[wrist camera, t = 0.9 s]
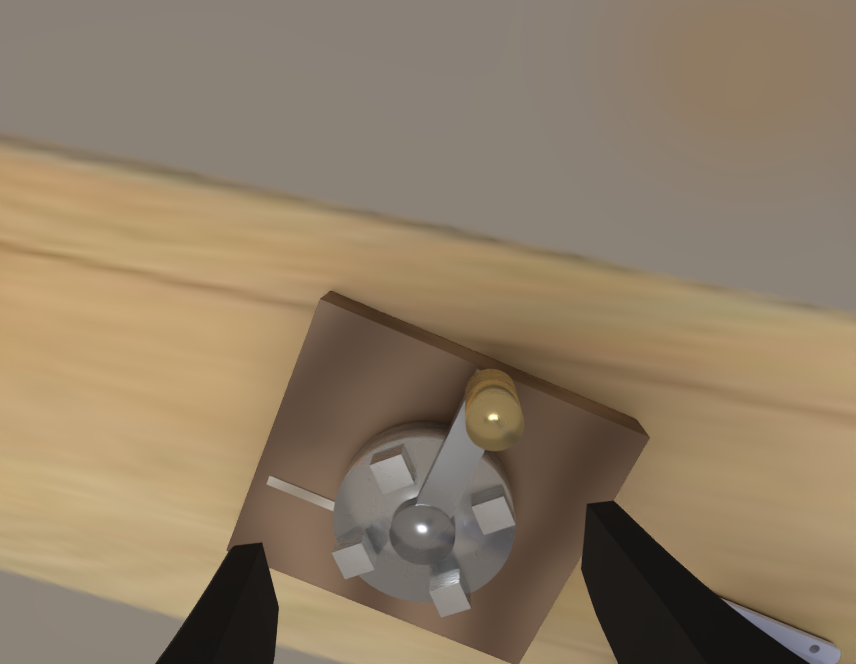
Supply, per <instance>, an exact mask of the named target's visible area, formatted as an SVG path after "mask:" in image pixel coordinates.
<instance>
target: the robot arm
mask: <svg viewBox="0 0 856 664" xmlns="http://www.w3.org/2000/svg"><path fill="white" fill-rule="evenodd" d="M581 570H582V573H583V576H584V580H585V583H586V586H587V589H588V592H589V595H590V598H591V601H592V604H593V607H594V610H595V613H596V615H597V618H598V620H599V622H600V624H601V627H602V629H603V631H604V633H605V636H606V638H607V640H608V642H609V644H610V647H611V649H612V651H613V653H614V655H615V658H616V660H617V662H618V664H836V663H837V662H838V660H839V659H840V657H841V652H840V650H839V649H838V648H837V647H836V645H834V644H833V643H830V642H828V641H825V640H823V639H820V638H818V637H815V636H813V635H811V634H808V633H806V632H803V631H801V630H798V629H796V628H793V627H791V626H789V625H786V624H784V623H781V622H779V621H776V620H774V619H771V618H769V617H766V616H764V615H762V614H759V613H757V612H754V611H752V610H749V609H747V608H744V607H742V606H740V605H737V604H735V603H732V602H730V601H727V600H725V599H722V598H720V597H719V596H717V595H716V594H715V593H714V592H713V591H711V590H710V589H709V588H708V587H707V586H705V585H704V584H703V583H702V582H701V581H700V580H698V579H697V578H696V577H695V576H694V575H693V574H692V573H691V572H689V571H688V570H687V569H686V568H685V567H684V566H683V565H681V564H680V563H679V562H678V561H677V560H676V559H675V558H674V557H672V556H671V555H670V554H669V553H668V552H667V551H666V550H665V549H664V548H663V547H662V546H661V545H660V544H658V543H657V542H656V541H655V540H654V539H653V538H652V537H651V536H650V535H649V534H648V533H647V532H646V531H645V530H644V529H643V528H642V527H641V526H640V525H639V524H637V523H636V522H635V521H634V520H633V519H632V518H631V517H630V516H629V515H628V514H627V513H626V512H625V511H624V510H623V509H622V508H621V507H620V506H619V505H618V504H617V503H616V502H614V501H605V502H596V503H588V504H587V507H586V518H585V530H584V541H583V553H582V565H581ZM278 611H279V606H278V602H277V598H276V594H275V590H274V587H273V583H272V579H271V575H270V571H269V567H268V563H267V559H266V555H265V551H264V547H263V543H262V542H260V543H251V544H243V545H235V546H233V547H232V548H231V549H230V550H229V552H228V554H227V555H226V557H225V559H224V560H223V562H222V564H221V565H220V567H219V569H218V570H217V572H216V574H215V575H214V577H213V578H212V580H211V582H210V583H209V585H208V587H207V588H206V590H205V591H204V593H203V594H202V596H201V598H200V599H199V601H198V602H197V604H196V605H195V607H194V608H193V610H192V611H191V613H190V614H189V616H188V617H187V619H186V620H185V622H184V623H183V625H182V627H181V628H180V630H179V631H178V632H177V634H176V635H175V637H174V638H173V640H172V641H171V643H170V644H169V645H168V647H167V648H166V650H165V651H164V652H163V654H162V655H161V656H160V658H159V659H158V661H157V662H156V663H155V664H273V662H274V657H275V646H276V636H277V624H278ZM812 645H814V646H813V647H811V646H812Z"/></svg>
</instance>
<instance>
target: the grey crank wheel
mask: <svg viewBox="0 0 856 664" xmlns="http://www.w3.org/2000/svg"><path fill="white" fill-rule="evenodd" d="M523 430H524V418H523V414H522V410H521V406H520V402H519V399H518V395H517V391H516V387H515V384H514V382H513V380H512V379H511V378H510V377H509V376H508V375H507V374H506V373H504V372H502V371H500V370H496V369H485V370H482V371H481V370H479V369H476V371H475V373H474V375H473V376H472V377H471V378H470V380H469V381H468V383H467V385H466V389H465V395H464V397H463V399H462V401H461V403H460V405H459V407H458V409H457V412H456V414H455V416H454V418H453V420H452V422H451V424H450V425H447V424H442V423H436V422H412V423H406V424H402V425H398V426H395V427H392V428H389V429H387V430H385V431H383V432H381V433H379V434H378V435H376V436H374V437H373V438H372V439H370V440H369V441H368V442H367V443H365V444H364V445H363V447H362V448H361V449H360V450H359V451H358V452H357V453H356V455H355V456H354V458H353V459H352V461H351V463H350V465H349V467H348V469H347V471H346V474H345V476H344V479H343V481H342V483H341V486H340V488H339V491H338V494H337V497H336V500H335V504H334V510H333V527H334V534H335V537H336V542H335V545H334V547H333V550H332V555H333V557H334V559H335V561H336V563H337V565H338V567H339V569H340V571H341V573H342V575H343V577H344V578H345V579H348V578H351V577H354V576H357V575H359V576H360V577H361V578H362V579H363V580H364V581H365V582H367V583H368V584H369V585H371V586H372V587H374V588H376V589H377V590H379V591H381V592H383V593H385V594H387V595H390V596H393V597H396V598H399V599H402V600H407V601H411V602H421V603H434V604H435V606H436V608H437V610H438V612H439V614H440V616H441V617H445V616H448V615H451V614H455V613H458V612H461V611H465V610H468V609H471V593H472V592H474V591H476V590H478V589H479V588H481V587H482V586H484V585H485V584H487V583H488V582H489V581H490V580H491V579H492V578H493V577H494V576H495V575H496V574H497V573H498V572H499V571H500V569H501V568H502V567H503V565H504V563H505V562H506V560H507V559H508V556H509V554H510V552H511V550H512V546H513V543H514V539H515V531H516V520H515V512H514V506H513V500H512V493H511V488H510V483H509V480H508V477H507V474H506V472H505V470H504V468H503V466H502V464H501V462H500V461H499V459H498V458H497V456H496V455H495V454H494V453H493V452H492V451H502V450H505V449H508V448H510V447H511V446H513V445H514V444H515V443H516V442H517V441H518V440H519V439H520V437H521V436H522V433H523Z"/></svg>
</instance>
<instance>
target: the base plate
mask: <svg viewBox="0 0 856 664" xmlns="http://www.w3.org/2000/svg"><path fill="white" fill-rule="evenodd" d="M476 369H479V370H481V371H482V370H485V369H496V370H500V371H502V372H504V373H506V374H507V375H508V376H509V377H510V378H511V379H512V380H513V382H514V384H515V387H516V391H517V395H518V399H519V402H520V406H521V410H522V414H523V418H524V430H523V433H522V436H521V437H520V439H519V440H518V441H517V442H516V443H515V444H514V445H513V446H511V447H510V448H508V449H505V450H502V451H492V452H493V453H494V454H495V455H496V456H497V458H498V459H499V461H500V462H501V464H502V466H503V468H504V470H505V472H506V474H507V477H508V480H509V483H510V488H511V493H512V500H513V506H514V512H515V520H516V531H515V539H514V543H513V546H512V550H511V552H510V554H509V556H508V559H507V560H506V562H505V563H504V565H503V567H502V568H501V569H500V571H499V572H498V573H497V574H496V575H495V576H494V577H493V578H492V579H491V580H490V581H489V582H488V583H487V584H485V585H484V586H482V587H481V588H479V589H478V590H476V591H474V592H472V593H471V609H468V610H465V611H461V612H458V613H455V614H451V615H448V616H445V617H441V616H440V614H439V612H438V610H437V608H436V606H435V604H434V603H421V602H411V601H407V600H402V599H399V598H396V597H393V596H390V595H387V594H385V593H383V592H381V591H379V590H377V589H376V588H374V587H372V586H371V585H369V584H368V583H367V582H365V581H364V580H363V579H362V578H361V577H360V576H359V575H357V576H354V577H351V578H348V579H345V578H344V577H343V575H342V573H341V571H340V569H339V567H338V565H337V563H336V561H335V559H334V557H333V555H332V550H333V547H334V545H335V542H336V537H335V534H334V527H333V510H334V504H335V500H336V497H337V494H338V491H339V488H340V486H341V483H342V481H343V479H344V476H345V474H346V471H347V469H348V467H349V465H350V463H351V461H352V459H353V458H354V456H355V455H356V453H357V452H358V451H359V450H360V449H361V448H362V447H363V445H364V444H365V443H367V442H368V441H369V440H370V439H372V438H373V437H374V436H376V435H378V434H379V433H381V432H383V431H385V430H387V429H389V428H392V427H395V426H398V425H402V424H406V423H412V422H436V423H442V424H447V425H450V424H451V422H452V420H453V418H454V416H455V414H456V412H457V409H458V407H459V405H460V403H461V401H462V399H463V397H464V395H465V389H466V385H467V383H468V381H469V380H470V378H471V377H472V376H473V375H474V373H475V371H476ZM649 438H650V437H649V436H648V434H647V433H646V432H645V430H644V429H643V428H642V426H641V425H640V423H639V422H638V421H637V420H636V419H634V418H632V417H629V416H627V415H624V414H622V413H620V412H617V411H615V410H613V409H610V408H608V407H605V406H603V405H601V404H598V403H596V402H594V401H591V400H589V399H586V398H584V397H582V396H579V395H577V394H575V393H572V392H570V391H567V390H565V389H563V388H560V387H558V386H556V385H553V384H551V383H548V382H546V381H544V380H541V379H539V378H537V377H534V376H532V375H529V374H527V373H525V372H522V371H520V370H518V369H515V368H513V367H510V366H508V365H506V364H503V363H501V362H499V361H496V360H494V359H491V358H489V357H487V356H484V355H482V354H480V353H477V352H475V351H472V350H470V349H468V348H465V347H463V346H461V345H458V344H456V343H453V342H451V341H449V340H446V339H444V338H442V337H439V336H437V335H434V334H432V333H430V332H427V331H425V330H423V329H420V328H418V327H415V326H413V325H411V324H408V323H406V322H404V321H401V320H399V319H396V318H394V317H392V316H389V315H387V314H385V313H382V312H380V311H377V310H375V309H373V308H370V307H368V306H365V305H363V304H361V303H358V302H356V301H354V300H351V299H349V298H346V297H344V296H342V295H339V294H337V293H335V292H332V291H330V292H328V293H327V294H326V295H325V296H323V297H322V298H321V299H320V301H319V303H318V306H317V309H316V311H315V314H314V317H313V319H312V322H311V325H310V328H309V330H308V333H307V336H306V338H305V341H304V344H303V346H302V349H301V352H300V354H299V357H298V360H297V362H296V365H295V368H294V370H293V373H292V376H291V378H290V381H289V384H288V387H287V389H286V392H285V395H284V397H283V400H282V403H281V405H280V408H279V411H278V413H277V416H276V419H275V421H274V424H273V427H272V429H271V432H270V435H269V437H268V440H267V443H266V446H265V448H264V451H263V454H262V456H261V459H260V462H259V464H258V467H257V470H256V472H255V475H254V478H253V480H252V483H251V486H250V488H249V491H248V494H247V497H246V499H245V502H244V505H243V507H242V510H241V513H240V515H239V518H238V521H237V523H236V526H235V529H234V531H233V534H232V537H231V539H230V542H229V545H228V547H227V550H226V551H229V550H230V549H231V548H232V547H233V546H235V545H243V544H251V543H260V542H262V543H263V547H264V551H265V555H266V559H267V563H268V567H269V568H272V569H274V570H277V571H279V572H282V573H284V574H287V575H289V576H292V577H294V578H297V579H299V580H302V581H304V582H307V583H309V584H312V585H314V586H317V587H320V588H322V589H325V590H327V591H330V592H332V593H335V594H337V595H340V596H342V597H345V598H347V599H350V600H352V601H355V602H357V603H360V604H362V605H365V606H368V607H370V608H373V609H375V610H378V611H380V612H383V613H385V614H388V615H390V616H393V617H395V618H398V619H400V620H403V621H405V622H408V623H410V624H413V625H416V626H418V627H421V628H423V629H426V630H428V631H431V632H433V633H436V634H438V635H441V636H443V637H446V638H448V639H451V640H453V641H456V642H458V643H461V644H464V645H466V646H469V647H471V648H474V649H476V650H479V651H481V652H484V653H486V654H489V655H491V656H494V657H496V658H499V659H501V660H504V661H506V662H509V663H511V664H519V663H520V661H521V659H522V658H523V656H524V654H525V652H526V651H527V649H528V647H529V645H530V644H531V642H532V640H533V639H534V637H535V635H536V633H537V632H538V630H539V628H540V626H541V625H542V623H543V621H544V620H545V618H546V616H547V614H548V613H549V611H550V609H551V607H552V606H553V604H554V602H555V601H556V599H557V597H558V595H559V594H560V592H561V590H562V588H563V587H564V585H565V583H566V582H567V580H568V578H569V576H570V575H571V573H572V571H573V569H574V568H575V566H576V564H577V563H578V561H579V559H580V557H581V556H582V553H583V541H584V530H585V518H586V507H587V504H588V503H596V502H605V501H613V500H614V499H615V497H616V495H617V493H618V492H619V490H620V488H621V486H622V485H623V483H624V481H625V480H626V478H627V476H628V474H629V473H630V471H631V469H632V467H633V466H634V464H635V462H636V461H637V459H638V457H639V455H640V454H641V452H642V450H643V448H644V447H645V445H646V443H647V442H648V440H649Z"/></svg>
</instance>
